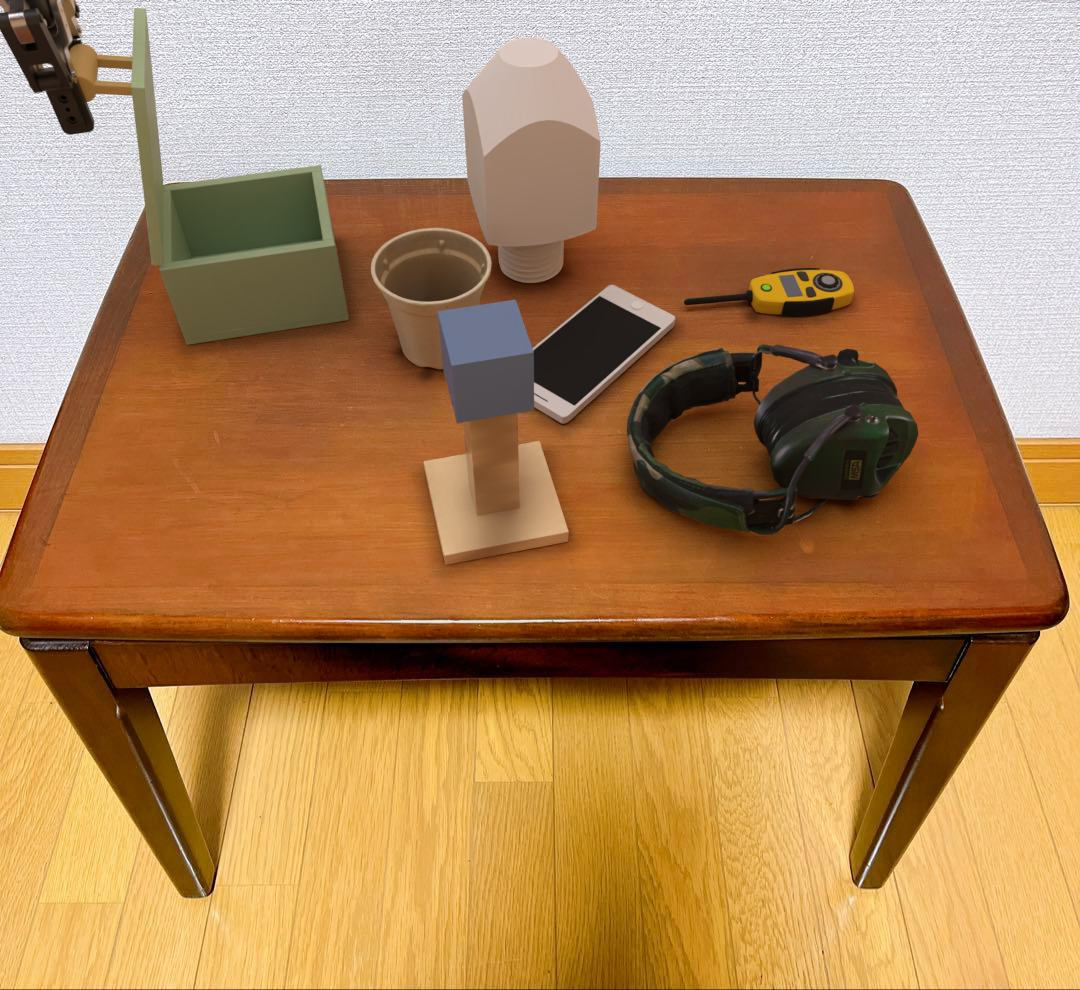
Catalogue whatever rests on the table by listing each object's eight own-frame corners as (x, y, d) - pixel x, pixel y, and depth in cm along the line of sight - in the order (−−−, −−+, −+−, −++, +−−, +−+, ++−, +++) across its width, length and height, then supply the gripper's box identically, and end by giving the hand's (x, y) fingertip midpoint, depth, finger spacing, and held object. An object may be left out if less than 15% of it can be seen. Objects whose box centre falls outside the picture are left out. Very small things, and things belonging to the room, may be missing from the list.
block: (457, 423, 64) (451, 365, 60) (443, 369, 67) (437, 311, 63) (534, 410, 64) (533, 352, 60) (517, 357, 67) (515, 299, 64)
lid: (146, 8, 76) (66, 2, 74) (144, 87, 69) (56, 82, 67) (163, 181, 87) (94, 178, 85) (163, 265, 80) (88, 264, 78)
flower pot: (516, 333, 87) (514, 251, 80) (454, 401, 82) (446, 318, 75) (426, 296, 90) (417, 214, 83) (361, 359, 85) (346, 276, 78)
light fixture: (593, 288, 91) (603, 75, 75) (491, 304, 89) (480, 90, 74) (567, 226, 96) (572, 17, 81) (471, 240, 95) (457, 30, 79)
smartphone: (676, 324, 87) (677, 316, 87) (564, 425, 80) (564, 417, 79) (610, 290, 90) (611, 282, 89) (496, 385, 83) (496, 377, 82)
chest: (335, 239, 95) (320, 164, 89) (349, 320, 88) (334, 245, 82) (184, 260, 93) (159, 185, 87) (186, 345, 86) (159, 270, 80)
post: (445, 565, 71) (430, 452, 62) (424, 471, 77) (408, 354, 68) (568, 541, 73) (572, 427, 63) (539, 450, 78) (539, 333, 69)
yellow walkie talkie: (862, 295, 87) (691, 309, 86) (856, 312, 88) (689, 327, 87) (844, 260, 90) (679, 274, 89) (839, 278, 92) (676, 291, 90)
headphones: (853, 315, 80) (605, 374, 80) (919, 303, 66) (622, 374, 66) (885, 480, 81) (642, 537, 81) (956, 500, 68) (665, 569, 68)
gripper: (-72, -182, 65) (37, 69, 79) (-107, -92, 57) (21, 173, 70) (48, -194, 66) (135, 56, 80) (31, -108, 58) (132, 157, 71)
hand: (81, 109), depth 75 cm, fingers closed on lid, 5 cm apart
